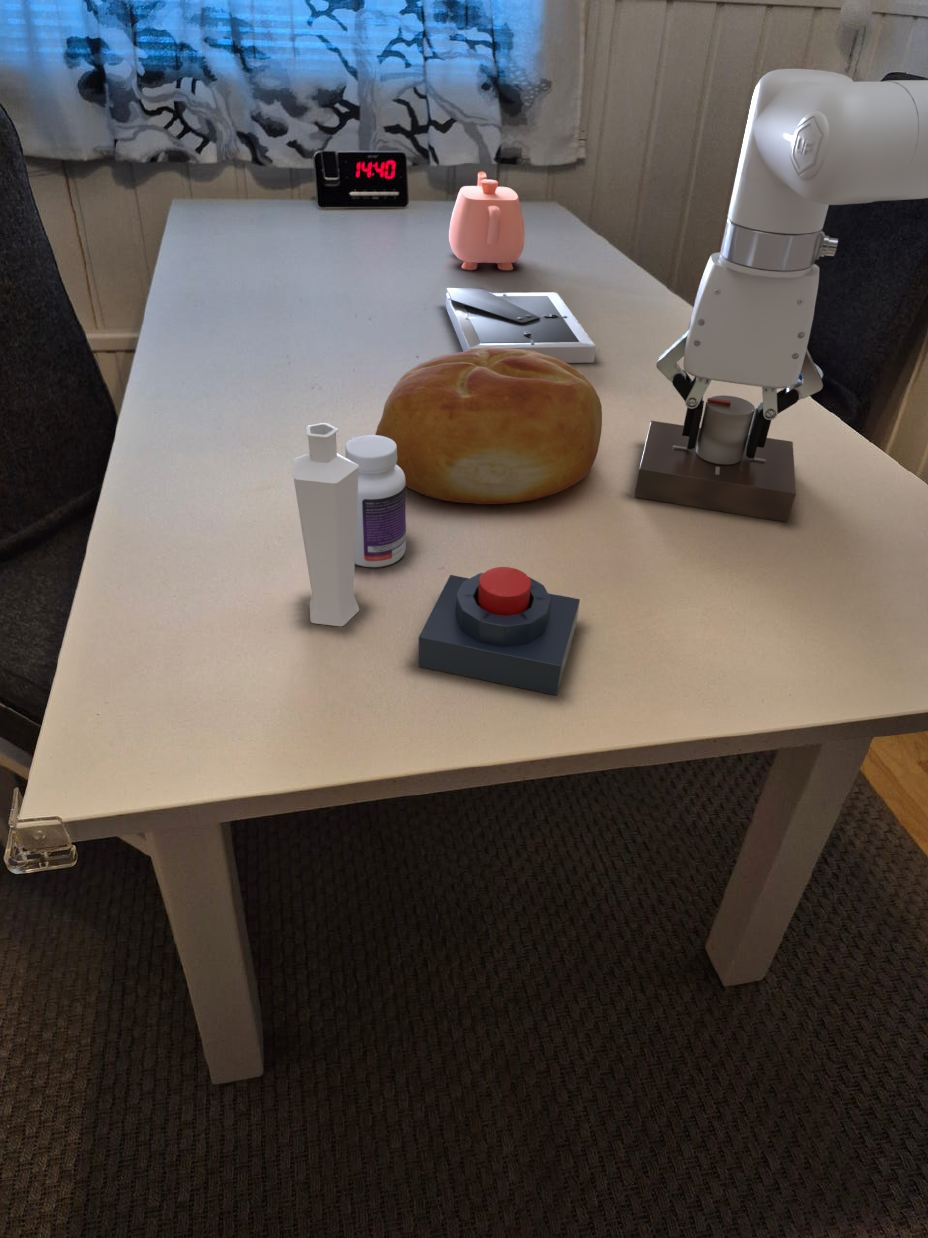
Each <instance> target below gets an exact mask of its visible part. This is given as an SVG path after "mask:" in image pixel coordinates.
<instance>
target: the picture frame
mask: <svg viewBox="0 0 928 1238" xmlns="http://www.w3.org/2000/svg"><path fill="white" fill-rule="evenodd" d="M446 291H447V293H446V295H445V297H446V299H445V309H446V312H447V314H448V316H449V319H450V321H451V325H452V327H453V329H454V331H455V334H456V336H457V339H458V341H459V344H460V347H461V349H462V352H464V351H469V350H473V349H479V348H485V347H491V348H512V349H522V350H529V351H535V352H538V353H541V354H544V355H547V356H551V357H554V358H557V359H559V360H562V361H564V362H565V363H567V364H586V363H587V364H589V363H590V364H591V363H592V364H594V363H595V357H596V349H597V346H596V345H595V343H594V341H593V340H592V339H591V337H590V336H589V335H588V333H587V332H586V330H585V329H584V328H583V327H582V325H581V324H580V321H578V319H577V318H576V317H575V315H574V314H573V313H572V311H571V310H570V309H569V307H568V306H567V304H566V303H565V302H564V301H563V299H562V298H561V296H560V295H559V294H558V292H555V291H554V292H489V291H487V290H486V289H484V288H464V287H463V288H462V287H446Z"/></svg>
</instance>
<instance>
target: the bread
mask: <svg viewBox="0 0 928 1238" xmlns="http://www.w3.org/2000/svg"><path fill="white" fill-rule="evenodd" d="M385 400H386V401H385V402H384V406H383V411H382V415H381V418H380V420H379V422H378V424H377V428H376V431H375V434H374V435H379V436H384V437H387V438H390V439H392V440H393V441H394V442H395V443H396V446H397V463H396V465H398V466H399V467H400V468H401V469H402V471H403V472H404V475H405V482H406V488H409V489H410V490H413V491H415V492H417V493H419V494H421V495H423V496H426V497H428V498H432V499H435V500H436V499H437V500H441V501H445V502H453V503H462V504H472V505H473V504H475V505H501V504H502V505H503V504H514V503H516V504H517V503H524V502H530V501H535V500H538V499H542V498H546V497H549V496H552V495H555V494H558V493H560V492H562V491H565V490H566V489H568V488H571V487H572V486H574V485H575V484H577V483H578V482H580V481H581V480H583V478H585V476H587V474H588V473H589V472H590V471H591V469H592V467H593V465H594V464H595V462H596V458H597V455H598V451H599V447H600V443H601V436H602V429H603V411H602V410H603V409H602V407H603V406H602V402H601V398H600V396H599V395H598V392H597V391H596V389H595V387H594V385H593V384H592V383H591V382H590V381H589V380H588V378H587V377H586V376H585V375H584V374H583V373H582V372H581V371H579V370H578V369H576V368H574V367H573V366H572V365H570V363H565V362H564V361H562V360H559V359H557V358H554V357H551V356H547V355H544V354H541V353H538V352H535V351H529V350H522V349H512V348H491V347H485V348H479V349H473V350H469V351H464V352H463V351H460V352H453V353H452V352H451V353H447V354H443V355H439V356H436V357H434V358H433V357H432V358H431V359H429V360H426V361H424V362H421V363H419V364H417V365H416V366H414V367H413V368H411V369H410V370H409V371H407V372H406V373H405V374H403V375H402V376H401V377H400V379H399V380H398V381H397V382H396V384H395V386H393V388H392V390H391V391H390V393H389V394H388V396H387V398H386V399H385Z"/></svg>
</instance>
